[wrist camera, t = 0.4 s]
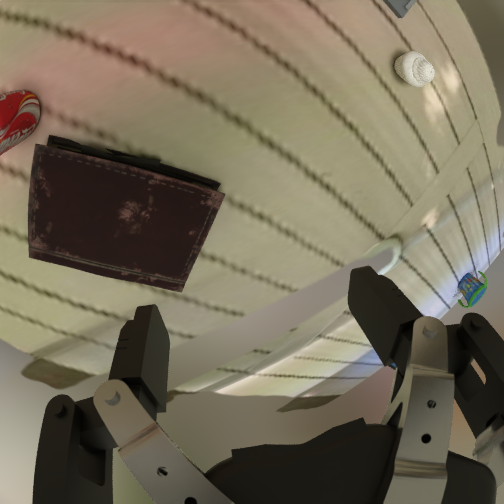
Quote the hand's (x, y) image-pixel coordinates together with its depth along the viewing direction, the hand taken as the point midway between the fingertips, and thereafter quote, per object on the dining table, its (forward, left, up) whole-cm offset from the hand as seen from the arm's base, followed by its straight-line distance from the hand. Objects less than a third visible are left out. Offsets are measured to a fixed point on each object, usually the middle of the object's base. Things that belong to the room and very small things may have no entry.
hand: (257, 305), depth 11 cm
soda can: (-24, -6, -28) cm, 37 cm away
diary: (-5, -14, -29) cm, 32 cm away
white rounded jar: (+19, +29, -28) cm, 45 cm away
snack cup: (+106, +12, -28) cm, 110 cm away
